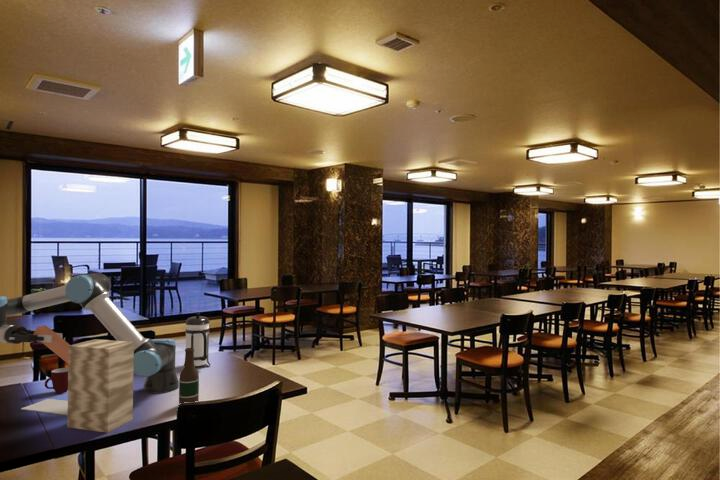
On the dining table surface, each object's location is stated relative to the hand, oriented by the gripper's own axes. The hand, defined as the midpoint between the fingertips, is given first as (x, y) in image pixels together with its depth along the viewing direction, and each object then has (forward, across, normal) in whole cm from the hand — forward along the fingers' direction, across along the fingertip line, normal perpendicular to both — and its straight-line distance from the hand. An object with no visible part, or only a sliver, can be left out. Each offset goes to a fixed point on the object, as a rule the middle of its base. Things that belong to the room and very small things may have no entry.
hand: (56, 337), depth 184 cm
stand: (+32, +9, -28) cm, 44 cm away
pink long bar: (+3, 0, -6) cm, 7 cm away
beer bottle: (+52, -16, -28) cm, 62 cm away
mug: (-13, -14, -29) cm, 35 cm away
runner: (+5, 0, -28) cm, 29 cm away
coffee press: (+21, -69, -28) cm, 77 cm away
